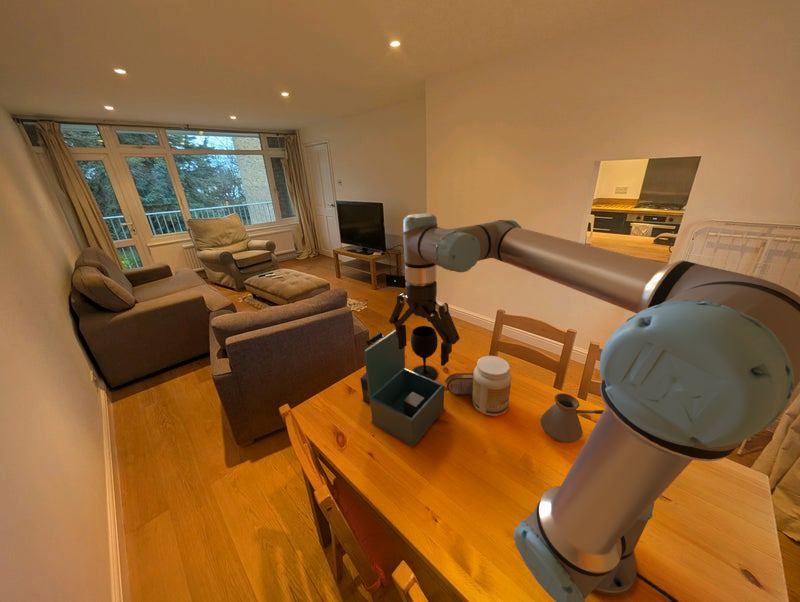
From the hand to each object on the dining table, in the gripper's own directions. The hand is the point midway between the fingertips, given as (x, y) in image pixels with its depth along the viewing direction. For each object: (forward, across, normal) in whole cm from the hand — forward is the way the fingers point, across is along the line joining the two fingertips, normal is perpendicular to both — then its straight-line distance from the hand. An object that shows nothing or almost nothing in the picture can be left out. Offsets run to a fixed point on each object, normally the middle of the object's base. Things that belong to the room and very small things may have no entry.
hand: (422, 354), depth 79 cm
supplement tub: (+31, -11, -25) cm, 41 cm away
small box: (+31, +25, -6) cm, 40 cm away
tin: (+31, -2, -25) cm, 40 cm away
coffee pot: (+31, -38, -26) cm, 55 cm away
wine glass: (+31, +17, -26) cm, 44 cm away
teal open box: (+31, +9, -4) cm, 32 cm away
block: (+30, +6, -4) cm, 31 cm away
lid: (+11, +17, -4) cm, 20 cm away
